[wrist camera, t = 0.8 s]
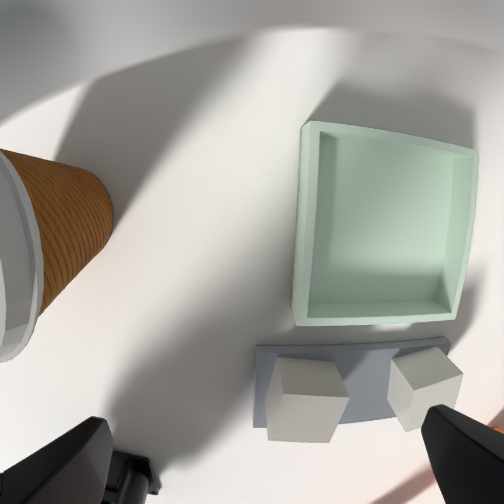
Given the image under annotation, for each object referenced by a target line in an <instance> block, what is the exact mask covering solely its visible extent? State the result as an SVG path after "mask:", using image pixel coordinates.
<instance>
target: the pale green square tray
mask: <svg viewBox="0 0 504 504" xmlns="http://www.w3.org/2000/svg"><path fill="white" fill-rule="evenodd" d="M477 179H478V151H477V150H474V149H470V148H466V147H462V146H458V145H454V144H450V143H446V142H442V141H437V140H433V139H428V138H424V137H419V136H414V135H409V134H404V133H398V132H393V131H387V130H381V129H375V128H368V127H362V126H354V125H347V124H339V123H331V122H321V121H311V120H310V121H309V122H308V123H306V124H305V125H304V126H303V127H302V128H300V155H299V178H298V198H297V215H296V232H295V247H294V261H293V274H292V287H291V299H290V307H291V310H292V313H293V316H294V319H295V322H296V325H297V326H347V325H377V324H398V323H415V322H430V321H443V320H455V318H456V314H457V310H458V306H459V302H460V298H461V294H462V289H463V284H464V280H465V275H466V269H467V264H468V258H469V252H470V246H471V239H472V232H473V224H474V216H475V206H476V194H477Z"/></svg>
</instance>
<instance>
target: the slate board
mask: <svg viewBox="0 0 504 504" xmlns="http://www.w3.org/2000/svg"><path fill="white" fill-rule="evenodd" d="M450 344H451V342H450V341H449V340H448V339H446V338H445V337H440V338H430V339H420V340H409V341H396V342H382V343H364V344H342V345H257V351H256V369H255V387H254V405H253V428H267V420H266V408H265V399H266V396H267V392H268V388H269V385H270V381H271V377H272V373H273V370H274V366H275V362H276V358H277V356H280V357H289V358H298V359H308V360H318V361H329V362H334V363H335V365H336V367H337V369H338V372H339V374H340V376H341V378H342V381H343V383H344V385H345V388H346V390H347V392H348V394H349V397H350V398H349V401H348V403H347V405H346V407H345V410H344V412H343V414H342V416H341V419H340V421H339V423H338V424H346V423H355V422H364V421H372V420H379V419H386V418H392V417H397V416H396V415H395V413H394V411H393V409H392V408H391V406H390V404H389V402H388V401H387V396H388V387H389V378H390V368H391V359H393V358H397V357H401V356H405V355H408V354H412V353H416V352H419V351H423V350H426V349H430V348H433V347H436V346H437V347H438V348H439V349H440V350H441V351H442V352H443V353H444V354H445V355H446V356H447V353H448V350H449V347H450Z"/></svg>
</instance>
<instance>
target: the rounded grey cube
mask: <svg viewBox="0 0 504 504" xmlns="http://www.w3.org/2000/svg"><path fill="white" fill-rule="evenodd" d="M462 377H463V373H462V372H461V371H460V369H459V368H458V367H457V366H456V365H455V364H454V363H453V362H452V361H451V360H450V359H449V358H448V357H447V356H446V355H445V354H444V353H443V352H442V351H441V350H440V349H439V348H438V347H437V346H436V347H433V348H430V349H426V350H423V351H419V352H416V353H412V354H408V355H405V356H401V357H397V358H393V359H391V368H390V378H389V387H388V396H387V401H388V402H389V404H390V406H391V408H392V409H393V411H394V413H395V415H396V416H397V418H398V420H399V422H400V423H401V425H402V427H403V429H404V431H405V432H408V431H411V430H414V429H417V428H420V427H422V424H423V422H424V419H425V416H426V414H427V411H428V409H429V408H430V407H431V406H435V405H438V404H444V405H446V406H448V407H450V408H452V409H454V407H455V404H456V400H457V397H458V393H459V389H460V385H461V381H462Z"/></svg>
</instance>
